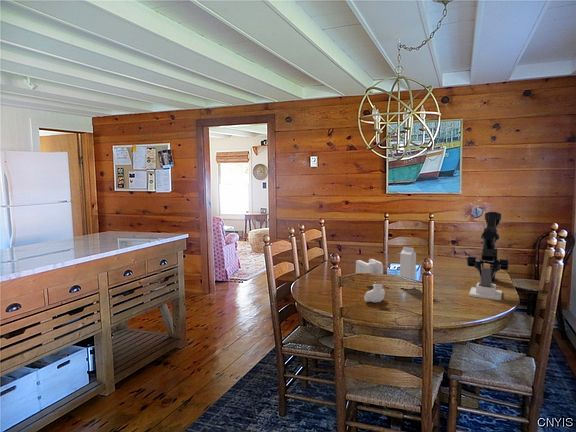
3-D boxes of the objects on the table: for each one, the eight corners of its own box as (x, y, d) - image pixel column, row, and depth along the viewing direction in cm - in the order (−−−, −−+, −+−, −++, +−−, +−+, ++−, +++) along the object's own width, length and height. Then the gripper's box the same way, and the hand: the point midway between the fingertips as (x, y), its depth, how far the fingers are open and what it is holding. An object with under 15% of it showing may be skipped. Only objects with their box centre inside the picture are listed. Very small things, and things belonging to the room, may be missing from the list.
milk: (404, 286, 221) (405, 245, 219) (415, 288, 217) (416, 247, 215) (399, 288, 217) (400, 247, 215) (410, 290, 213) (411, 248, 211)
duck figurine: (366, 308, 192) (376, 293, 185) (358, 295, 197) (367, 280, 190) (385, 304, 198) (396, 289, 191) (376, 291, 203) (387, 277, 196)
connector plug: (481, 287, 208) (482, 262, 206) (490, 288, 206) (492, 263, 204) (480, 290, 204) (481, 264, 202) (490, 291, 202) (491, 265, 200)
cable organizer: (383, 284, 225) (384, 263, 224) (366, 285, 223) (366, 264, 221) (371, 277, 240) (371, 258, 239) (354, 278, 237) (354, 259, 236)
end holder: (471, 289, 214) (472, 280, 214) (501, 292, 208) (502, 283, 207) (468, 296, 202) (469, 286, 202) (500, 300, 195) (501, 290, 195)
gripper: (468, 240, 210) (465, 266, 202) (509, 243, 201) (507, 270, 193) (469, 253, 218) (466, 278, 210) (508, 256, 209) (507, 282, 200)
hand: (486, 277), depth 203 cm, fingers closed on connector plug, 4 cm apart
